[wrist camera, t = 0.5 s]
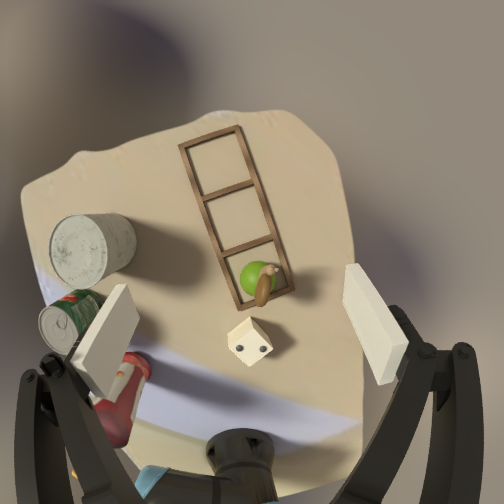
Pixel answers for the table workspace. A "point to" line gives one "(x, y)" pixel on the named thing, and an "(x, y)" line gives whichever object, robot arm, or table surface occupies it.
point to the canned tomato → (68, 319)
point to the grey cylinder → (90, 248)
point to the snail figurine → (259, 281)
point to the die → (249, 342)
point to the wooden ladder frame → (227, 190)
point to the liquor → (122, 400)
